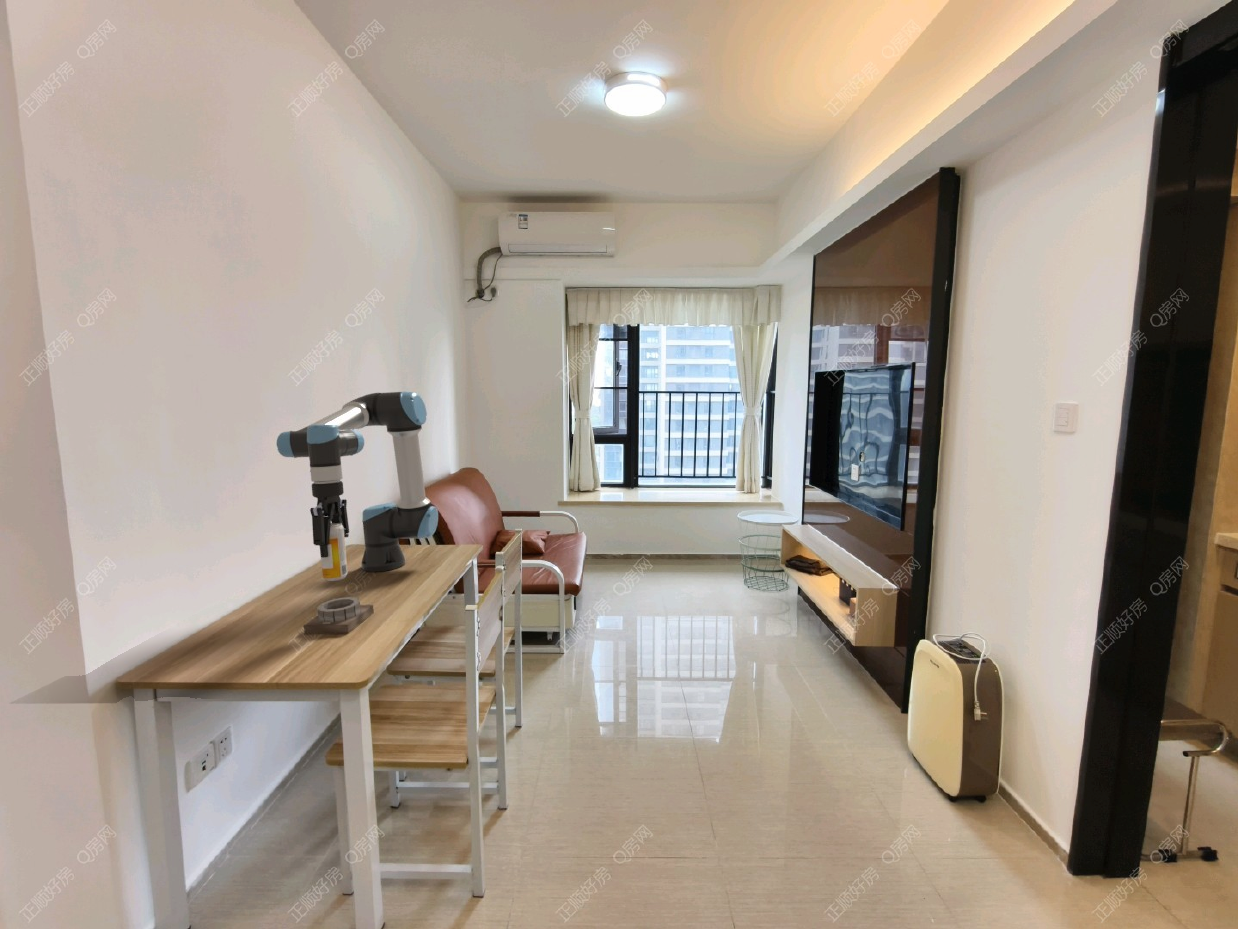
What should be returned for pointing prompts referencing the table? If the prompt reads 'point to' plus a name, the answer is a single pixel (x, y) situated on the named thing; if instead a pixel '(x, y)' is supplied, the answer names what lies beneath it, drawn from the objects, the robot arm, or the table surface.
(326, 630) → the cup holder
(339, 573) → the beer can
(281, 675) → the table surface
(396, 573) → the table surface
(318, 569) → the table surface
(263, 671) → the table surface
